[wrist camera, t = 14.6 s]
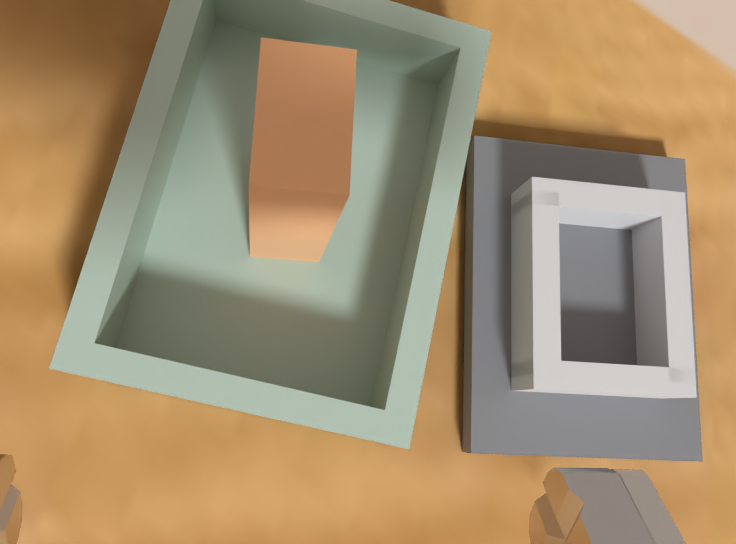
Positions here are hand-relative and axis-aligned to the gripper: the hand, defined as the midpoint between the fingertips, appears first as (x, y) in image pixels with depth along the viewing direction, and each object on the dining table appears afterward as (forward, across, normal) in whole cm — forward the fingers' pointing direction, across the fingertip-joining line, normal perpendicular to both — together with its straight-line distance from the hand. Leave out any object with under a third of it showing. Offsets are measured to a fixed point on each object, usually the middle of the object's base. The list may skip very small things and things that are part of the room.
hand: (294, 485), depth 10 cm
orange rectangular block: (+15, 0, +3) cm, 16 cm away
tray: (+16, 0, +4) cm, 16 cm away
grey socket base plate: (+14, -12, +6) cm, 19 cm away
